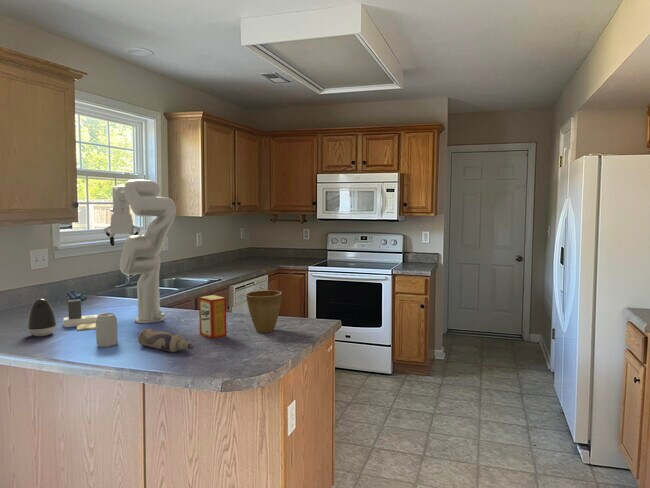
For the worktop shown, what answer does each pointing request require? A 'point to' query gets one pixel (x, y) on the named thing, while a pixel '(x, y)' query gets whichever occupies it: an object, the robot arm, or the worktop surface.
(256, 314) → the plant pot
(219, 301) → the baking soda box
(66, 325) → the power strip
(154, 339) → the decorative bottle
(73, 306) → the charger
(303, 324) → the worktop surface
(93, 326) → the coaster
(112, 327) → the can
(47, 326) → the dark egg-shaped diffuser
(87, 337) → the worktop surface
